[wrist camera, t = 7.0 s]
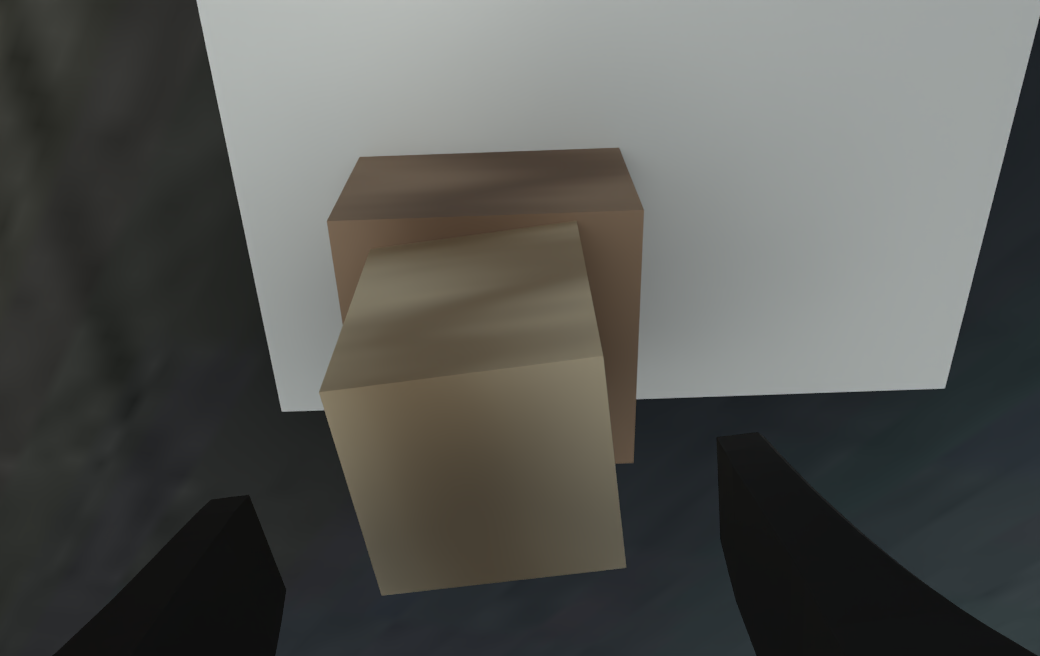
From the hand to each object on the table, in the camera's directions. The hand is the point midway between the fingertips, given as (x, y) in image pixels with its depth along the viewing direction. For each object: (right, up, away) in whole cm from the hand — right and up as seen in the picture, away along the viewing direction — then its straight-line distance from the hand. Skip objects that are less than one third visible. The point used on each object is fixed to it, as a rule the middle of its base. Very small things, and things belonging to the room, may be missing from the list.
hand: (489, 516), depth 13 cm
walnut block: (0, +4, +8) cm, 9 cm away
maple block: (0, +3, +4) cm, 5 cm away
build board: (+3, +8, +6) cm, 11 cm away
